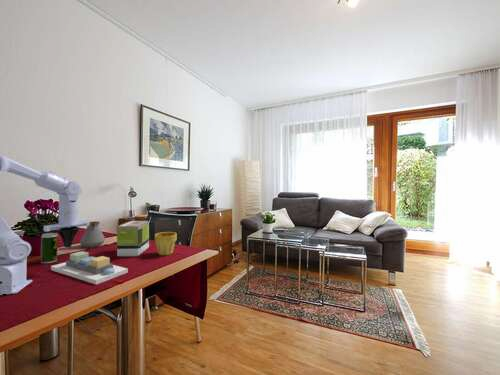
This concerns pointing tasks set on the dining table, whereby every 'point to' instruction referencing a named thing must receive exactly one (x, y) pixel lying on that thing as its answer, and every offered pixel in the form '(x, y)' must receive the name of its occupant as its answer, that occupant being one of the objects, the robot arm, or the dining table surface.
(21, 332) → the dining table surface
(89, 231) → the coffee pot
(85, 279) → the white rectangular tray
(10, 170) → the robot arm
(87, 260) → the blue button
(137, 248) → the tea box
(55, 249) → the beer can
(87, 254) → the sage button
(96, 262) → the ochre button
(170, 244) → the plant pot
